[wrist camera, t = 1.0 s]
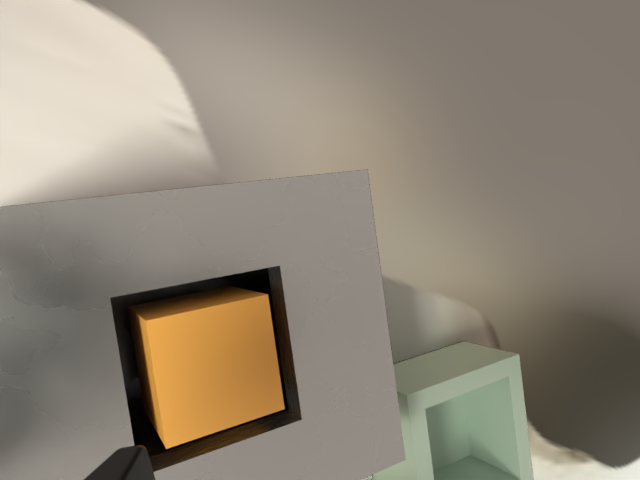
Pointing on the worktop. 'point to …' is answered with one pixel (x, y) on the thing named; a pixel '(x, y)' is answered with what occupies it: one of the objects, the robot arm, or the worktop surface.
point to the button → (206, 362)
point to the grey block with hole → (186, 278)
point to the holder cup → (462, 416)
